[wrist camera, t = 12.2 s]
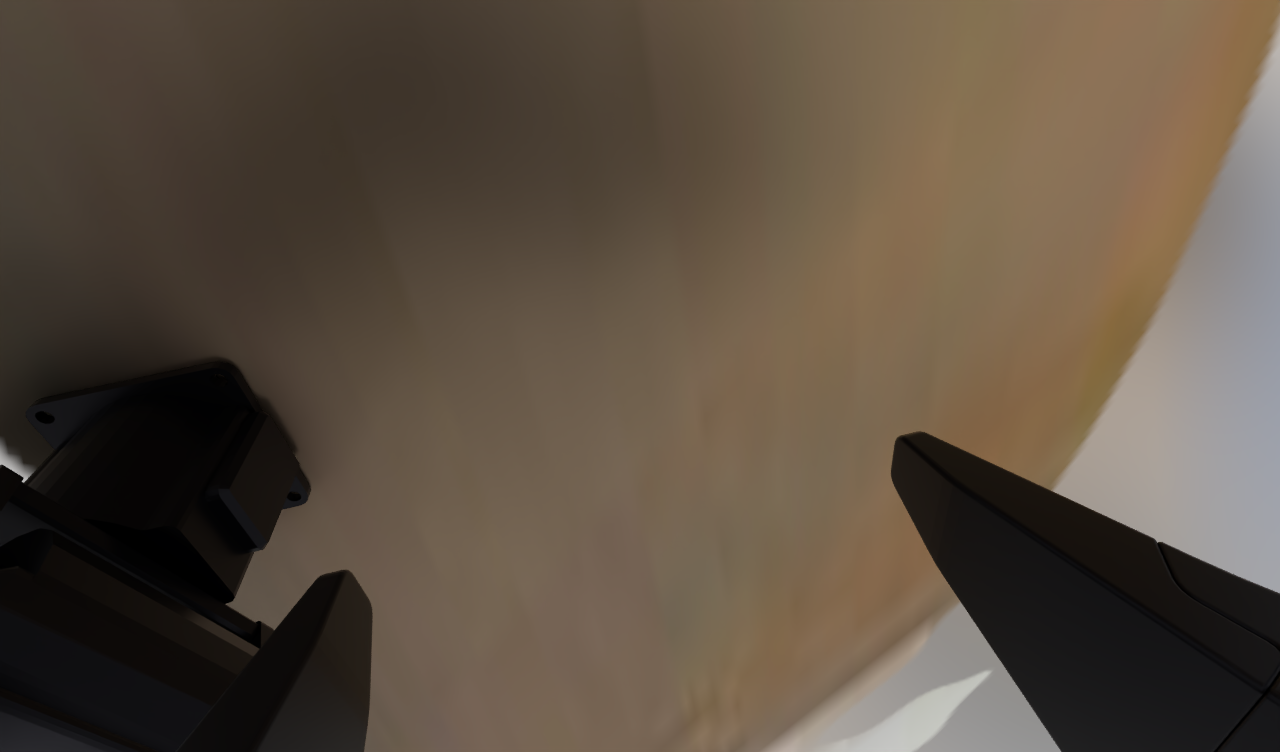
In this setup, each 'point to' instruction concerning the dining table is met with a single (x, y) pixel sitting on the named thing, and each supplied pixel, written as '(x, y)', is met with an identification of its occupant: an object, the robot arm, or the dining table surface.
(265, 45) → the dining table surface
